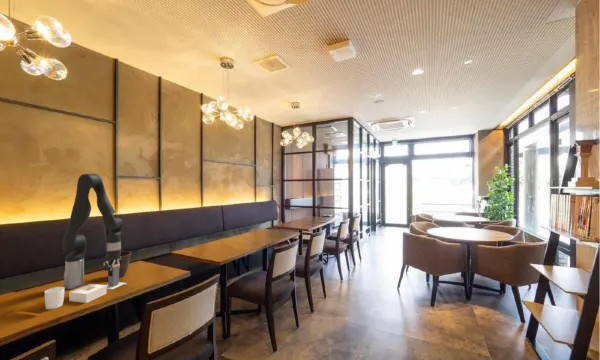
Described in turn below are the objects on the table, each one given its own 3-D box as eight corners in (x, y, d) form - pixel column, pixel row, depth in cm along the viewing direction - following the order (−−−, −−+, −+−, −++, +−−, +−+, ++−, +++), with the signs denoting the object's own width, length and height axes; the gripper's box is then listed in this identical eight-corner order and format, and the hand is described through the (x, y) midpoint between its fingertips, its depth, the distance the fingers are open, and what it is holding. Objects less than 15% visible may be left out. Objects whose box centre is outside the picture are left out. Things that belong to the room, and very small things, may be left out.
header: (69, 302, 145) (69, 291, 145) (90, 293, 156) (90, 283, 156) (86, 304, 142) (86, 293, 142) (106, 295, 154) (106, 285, 154)
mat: (99, 289, 162) (99, 287, 162) (114, 283, 172) (114, 281, 172) (112, 290, 160) (112, 289, 160) (126, 284, 170) (126, 282, 170)
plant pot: (108, 274, 188) (109, 252, 188) (132, 271, 194) (132, 250, 194) (103, 281, 175) (103, 258, 175) (128, 278, 181) (129, 255, 181)
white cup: (41, 312, 133) (41, 293, 133) (48, 305, 140) (48, 287, 140) (60, 309, 136) (60, 291, 136) (66, 303, 144) (67, 285, 144)
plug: (107, 285, 164) (107, 265, 164) (113, 282, 169) (114, 263, 169) (113, 286, 163) (113, 266, 164) (119, 283, 168) (120, 263, 168)
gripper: (118, 245, 174) (118, 270, 174) (98, 251, 160) (98, 278, 160) (128, 246, 172) (127, 271, 172) (108, 252, 159) (108, 279, 159)
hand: (113, 274), depth 166 cm, fingers closed on plug, 4 cm apart
